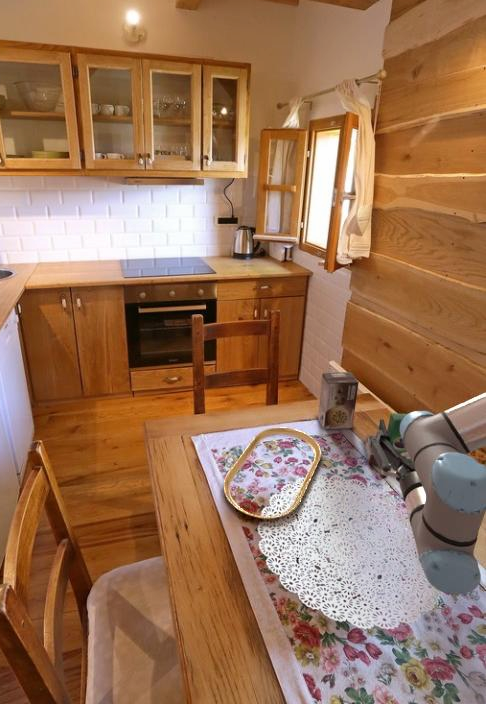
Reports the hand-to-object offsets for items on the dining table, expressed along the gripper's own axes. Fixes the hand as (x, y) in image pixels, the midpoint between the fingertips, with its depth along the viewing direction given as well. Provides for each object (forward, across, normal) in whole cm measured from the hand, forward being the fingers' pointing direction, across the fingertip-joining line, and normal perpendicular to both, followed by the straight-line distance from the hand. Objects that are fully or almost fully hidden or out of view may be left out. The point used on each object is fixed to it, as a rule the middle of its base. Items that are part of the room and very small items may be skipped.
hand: (401, 426), depth 93 cm
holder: (+11, +3, -18) cm, 21 cm away
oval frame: (0, -28, -18) cm, 33 cm away
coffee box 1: (+25, -12, -18) cm, 33 cm away
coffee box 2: (-5, 0, -7) cm, 9 cm away
